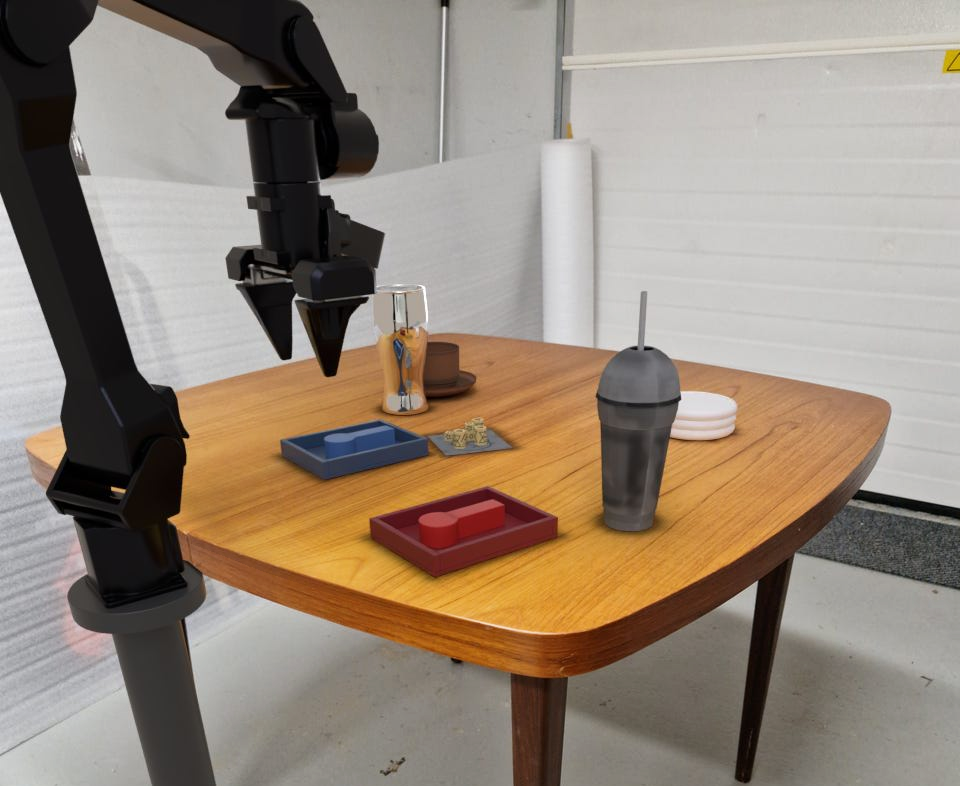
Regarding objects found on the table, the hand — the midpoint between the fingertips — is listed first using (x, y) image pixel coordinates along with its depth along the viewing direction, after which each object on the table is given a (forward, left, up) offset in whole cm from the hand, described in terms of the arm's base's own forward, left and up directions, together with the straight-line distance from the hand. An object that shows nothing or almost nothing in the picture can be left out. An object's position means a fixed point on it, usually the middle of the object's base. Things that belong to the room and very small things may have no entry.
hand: (307, 367), depth 81 cm
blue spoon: (+9, +7, -12) cm, 16 cm away
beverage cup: (+18, -26, -12) cm, 34 cm away
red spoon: (+4, -20, -12) cm, 23 cm away
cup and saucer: (+31, +25, -12) cm, 42 cm away
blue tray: (+8, +7, -12) cm, 16 cm away
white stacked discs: (+45, -10, -12) cm, 48 cm away
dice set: (+21, +3, -12) cm, 24 cm away
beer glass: (+23, +20, -12) cm, 33 cm away
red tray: (+4, -20, -12) cm, 23 cm away
